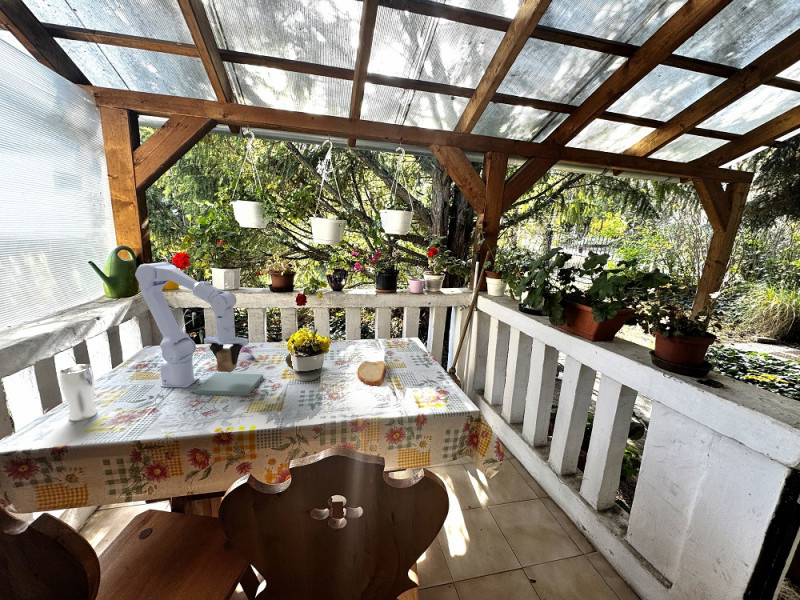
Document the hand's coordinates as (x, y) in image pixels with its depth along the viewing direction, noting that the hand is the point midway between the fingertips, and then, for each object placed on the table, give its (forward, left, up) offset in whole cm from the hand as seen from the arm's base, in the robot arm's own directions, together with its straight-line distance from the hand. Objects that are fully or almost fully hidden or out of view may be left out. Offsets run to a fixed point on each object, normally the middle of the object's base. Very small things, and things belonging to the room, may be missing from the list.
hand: (227, 363), depth 119 cm
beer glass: (-33, -21, -9) cm, 40 cm away
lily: (-6, +26, -9) cm, 28 cm away
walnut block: (0, 0, -2) cm, 2 cm away
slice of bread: (+52, +15, -10) cm, 54 cm away
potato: (+22, +16, -9) cm, 29 cm away
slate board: (0, +1, -9) cm, 9 cm away
